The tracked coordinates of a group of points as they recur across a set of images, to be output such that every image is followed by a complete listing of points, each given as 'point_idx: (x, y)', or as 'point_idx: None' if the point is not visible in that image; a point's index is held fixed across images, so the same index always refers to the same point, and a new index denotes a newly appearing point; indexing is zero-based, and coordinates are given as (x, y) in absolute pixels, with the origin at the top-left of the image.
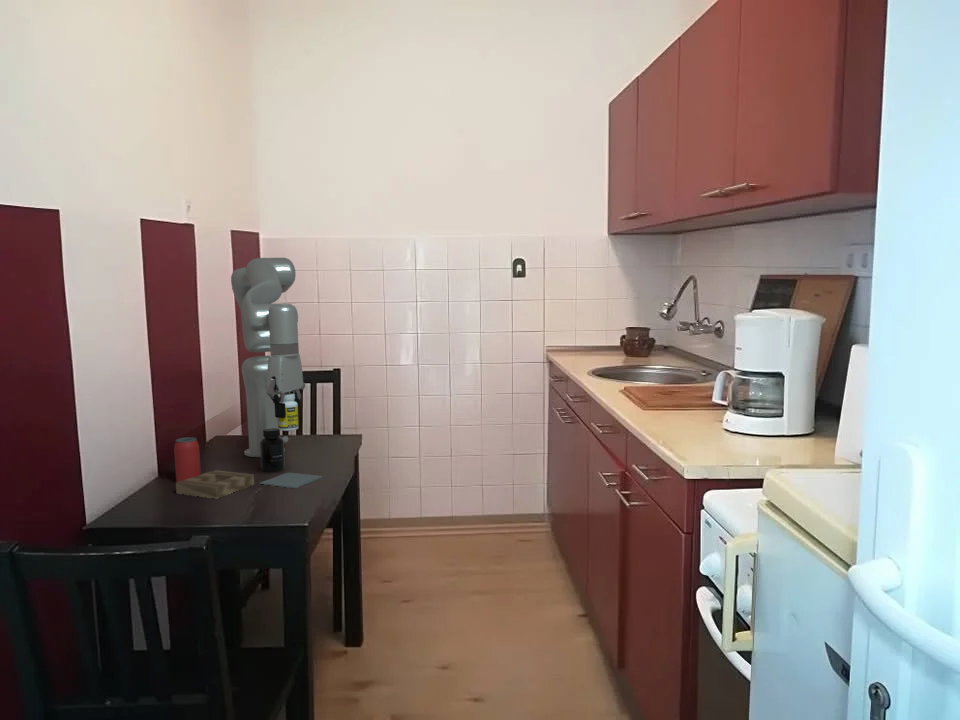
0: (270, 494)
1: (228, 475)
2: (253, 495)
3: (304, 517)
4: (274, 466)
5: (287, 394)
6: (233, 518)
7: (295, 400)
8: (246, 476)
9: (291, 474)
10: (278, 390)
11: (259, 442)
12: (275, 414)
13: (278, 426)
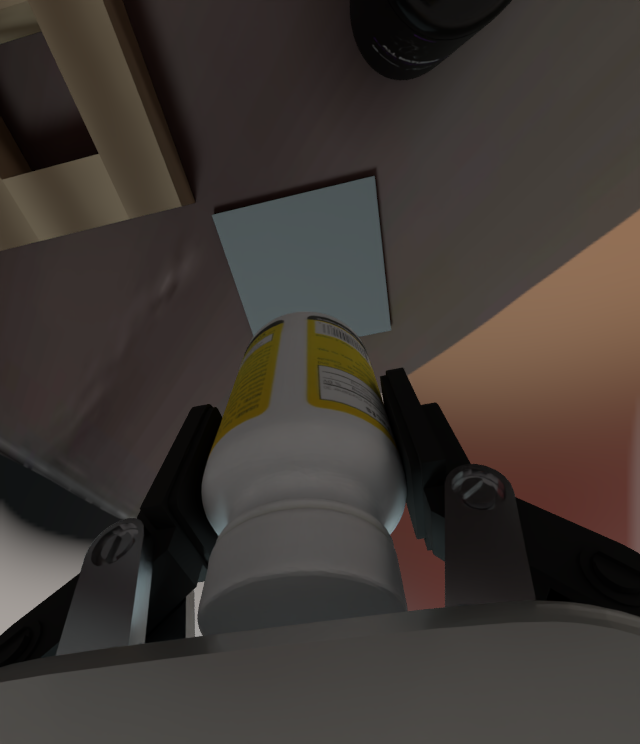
0: (183, 341)
1: (84, 106)
2: (140, 309)
3: None
4: (378, 65)
5: None
6: (31, 423)
7: (417, 524)
8: (145, 207)
9: (357, 218)
10: (195, 661)
11: None
12: (188, 421)
13: (246, 350)
